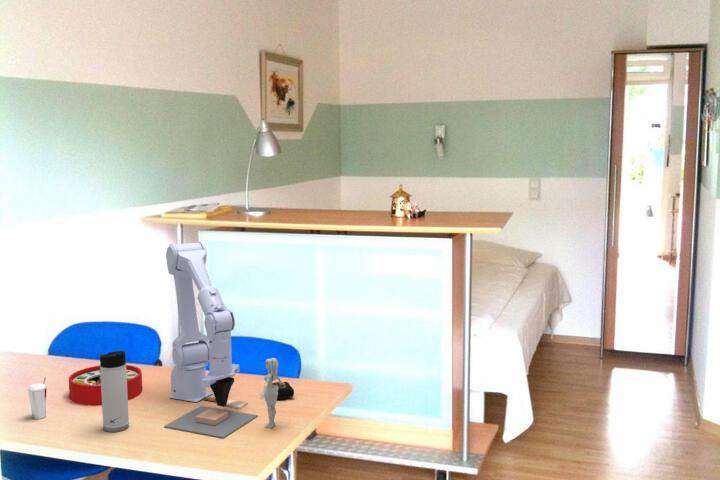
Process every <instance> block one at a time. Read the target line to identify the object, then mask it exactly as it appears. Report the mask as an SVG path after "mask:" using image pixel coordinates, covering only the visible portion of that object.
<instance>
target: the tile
mask: <svg viewBox="0 0 720 480" xmlns="http://www.w3.org/2000/svg"><path fill="white" fill-rule="evenodd" d="M195 418H196V422H197V423H203V424H208V425H214V426H215V425H217V424H219V423H220V422H222V421H224V420H225V419H227V418H228V412H224V411H218V410H212V409H208V410H206V411H205V412H203V413H201V414H199V415H197V416H196V417H195Z"/></svg>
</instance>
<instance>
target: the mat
mask: <svg viewBox="0 0 720 480" xmlns="http://www.w3.org/2000/svg"><path fill="white" fill-rule="evenodd" d="M208 409H212V410H218V411H224V412H228V418H227V419H225V420H224V421H222V422H220V423H219V424H217V425H215V426H214V425H208V424H203V423H197V422H196V418H195V417H196V416H197V415H199V414H201V413H203V412H205V411H206V410H208ZM257 417H259V415H258V414H254V413H246V412H241V411H237V410H236V411H235V410H230V409H229V410H228V409H224V408H223V409H222V408H217V407H214V406H213V407H212V406H208V405H207V406H205V405H200V406H198V407H196V408H194V409H191V410H190V411H189V412H187V413H186V414H185V413H184V414H183V415H182V416H180V417H178V418H176V419H174V420H172V421H171V422H168V423H167V424H165V425H163V427H164V428H166V429H171V430H175V431H180V432H186V433H190V434H197V435H201V436H206V437H207V436H208V437H213V438H219V439H221V440H222V439H225V438H227V437H229V436H230V435H232V434H233V433H235V432H237V431H238V430H239V429H241V428H242V427H244V426H245V425H247V424H248V423H251V422H252V421H253V420H255V419H257Z"/></svg>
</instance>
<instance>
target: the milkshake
mask: <svg viewBox="0 0 720 480" xmlns="http://www.w3.org/2000/svg"><path fill="white" fill-rule="evenodd" d="M46 378H47V377H46V376H44V378H43V381H42V382H43V383H41V382H40V383H39V382H37V383H32V384H31V385H29V386H28V388H27V393H28V398H29V403H30V409H31V410H30V411H31V416H32V419H34V420H40V419H43V418H46V417H47V391H48V389H47V384H46Z"/></svg>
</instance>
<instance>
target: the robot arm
mask: <svg viewBox="0 0 720 480" xmlns="http://www.w3.org/2000/svg"><path fill="white" fill-rule="evenodd" d="M207 256H208V255H207V248H206V246H205V244H204V243H203V242H202V241H197V242H189V243H188V242H187V243H177V244H174V243H171V244H169V245H168V247H167V249H166V253H165V259H166V267H167V271H168V274H169V275H172V276H173V281H174V287H175V296H176V302H177V303H176V304H177V309H178V318H179V319H178V320H179V326H180V327H179V328H180V333H179V334H178V336H176V338H174V340H173V341H172V353H171V354H172V355H171V356H172V361H173V364H174V365H175V366H173V367H172V370H171V372H170V392H171V393H170V394H171V395H169V399H176V400H181V401H187V402H192V403H198V402H200V401H202V400H204V399H203V398H204V396H205V397H210V396H211V395H214V398H215V399H216V402H215V403H216V406H218V407H226V404H227V401H228V400H229V396H230V392H231V388H232V386H233V384H234V383H235V376H236V373H240V364H236V363H232V361H233V360H232V359H233V358H232V357H233V356H232V331H234V329H235V325H236V319H235V315H234V312H233V311H232V310H231V309H230V308H229V307H228V306H227V305H225V303H224V301H223V299H222V297H221V295H220V292H219V289H218V288H217V287H215V286H212V283H211V280H210V277H209V276H210V275H209V273H208V270H207V268H206V264H207V263H206V262H207ZM194 284H195V286H196V288H197V290H198V291H199V292H198V294H197V301H198V303H199V305H200V307H201V309H202V312H203V314H204V321H203V323H204V328H205V332H206V334H204V333H202V332H201V331H200V329H199V322H198V314H197V307H196V306H197V305H196V299H195V292H194ZM186 343H187V344H186ZM208 364H209V372H208V373H206V372H207V371H206V367H208ZM207 388H210V390H211V391H208V390H207Z"/></svg>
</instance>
